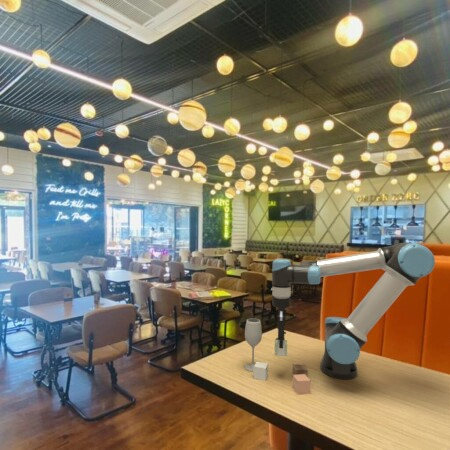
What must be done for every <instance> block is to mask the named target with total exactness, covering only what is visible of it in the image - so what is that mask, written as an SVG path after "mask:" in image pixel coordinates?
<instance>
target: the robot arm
mask: <svg viewBox="0 0 450 450" xmlns="http://www.w3.org/2000/svg"><path fill="white" fill-rule="evenodd" d="M435 264H436V260H435V255H434V254H433V252H432V251H431V250H430V249H429V248H428V247H426V246H425V245H422V244H420V243H415V242H412V243H410V242H400V243H396V244H392V245H390V246H384V247H379V248H377V250H375V251H367V252H362V253H355V254H348V255H343V256H337V257H330V258H325V259H316V260H312V261H307V260H306V261H303V262H301V263H300V264H292V263H291V260H290V259H283V258H281V259H280V258H278V259H274V260H273V261H272V270H271V272H272V273H271V274H272V275H271V278H272V279H271V284H272V287H271V289H270V291H272V293H271V294H272V298H271V303H272V307H275V308H277V309H276V322H277V337H276V338H275V339H276V340H278V356H277V357H285V356H284V340H286V338H285V335H286V334H287V332H286V331H285V323H286V316H287V310H286V309H285V308H290V307H291V296H292V295H291V294H292V293H291V291H292V290H291V284H303V285H319V284H321V278H323V277H330V276H331V277H332V276H337V275H345V274H352V273H359V272H366V271H373V270H375V271H376V270H380V269H381V270H382V271H384V273H383V274H382V275H381V276H380V278H379V279H378V280H377V282H376V283H375V284H374V285H373V286H372V288H371V289H370V290H369V291H368V292H367V294H366V295H365V296H364V298H362V300H361V301H360V302H359V303H358V305H357V306H356V307H355V308H354V310H353V311H352V312H351V313H350V315H349V316H348V317H340V316H328V317H326V318H325V319H324V353H323V355H322V358H321V361H320V368H319V369H320V371H321V372H322V373H323V374H325V375H326V376H329V377H331V378H336V379H339V380H351V379H355V378H356V377H358V367H357V363H356V361H357V360H359V357H360V354H361V349H362V348H363V347H364V345H365V344H366V343H367V342H368V338H367V335H368V334H369V332H370V331H371V330H372V329H373V327H374V326H375V325H376V324H377V323H378V322H379V320H380V319H381V318H382V317H383V316H384V315H385V313H386V312H387V310H389V309H390V308H391V306H392V305H393V303H395V301H396V300H397V299H398V297H399V296H400V295H401V294H402V293H403V292H404V290H405V289H406V288H407V287H408V286H415V285H416V284H417V282H418V281H419V280H420V279H421V278H423V277H427V276H428V275H429V274H430V273H432V271H433V270H434V268H435Z"/></svg>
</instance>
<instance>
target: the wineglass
mask: <svg viewBox="0 0 450 450" xmlns="http://www.w3.org/2000/svg"><path fill="white" fill-rule="evenodd" d="M244 329H245V330H244V338H245V341H246V343H247V344H248V345H250V347H251V350H252V351H251V352H252V354H251V356H252V357H251V359H252V360H251V363H247V364H245V365H244V369H245V370H246V371H248V372H253V373H254V365H255V347H257V346H258V345H259V344H260V343H261V341H262V338H263V332H262V323H261V320H260V319H259V318H255V317H253V318H252V317H251V318H248V319H246V322H245V327H244Z"/></svg>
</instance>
